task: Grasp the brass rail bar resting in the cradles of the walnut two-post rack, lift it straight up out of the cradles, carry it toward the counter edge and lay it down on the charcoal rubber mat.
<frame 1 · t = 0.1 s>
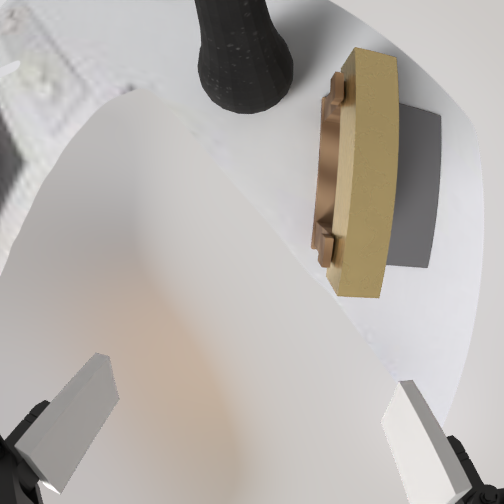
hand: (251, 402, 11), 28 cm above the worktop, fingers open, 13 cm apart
rack: (336, 173, 35), on the worktop
mat: (412, 185, 35), on the worktop
rail: (356, 171, 26), point 9 cm above the worktop, touching rack
bottle: (249, 86, 33), on the worktop
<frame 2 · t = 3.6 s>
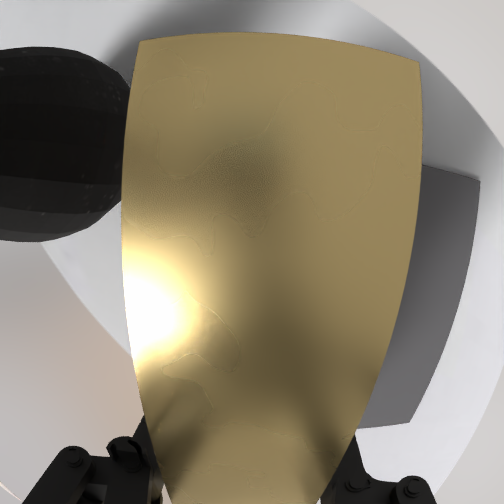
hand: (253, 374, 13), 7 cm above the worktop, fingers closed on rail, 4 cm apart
mat: (408, 321, 19), on the worktop
rail: (251, 405, 11), point 9 cm above the worktop, touching gripper, rack
bottle: (103, 150, 18), on the worktop
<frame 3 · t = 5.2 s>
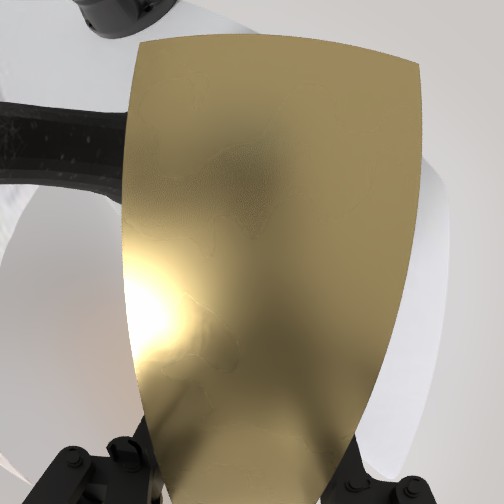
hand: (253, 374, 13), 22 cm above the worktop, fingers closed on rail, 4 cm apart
rail: (251, 406, 11), point 25 cm above the worktop, touching gripper
bottle: (172, 163, 33), on the worktop
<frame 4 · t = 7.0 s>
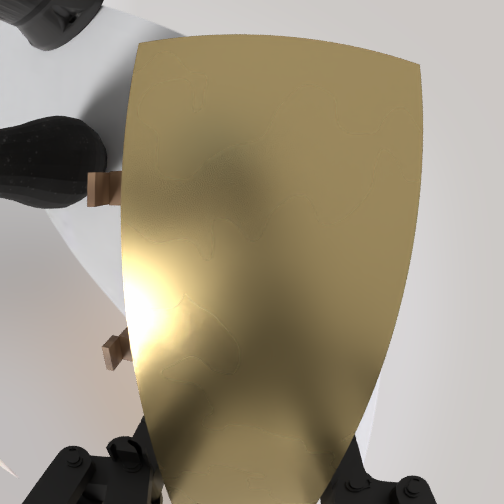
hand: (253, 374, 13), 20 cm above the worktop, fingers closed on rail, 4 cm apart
rack: (165, 253, 33), on the worktop
rail: (250, 406, 11), point 22 cm above the worktop, touching gripper
bottle: (86, 163, 31), on the worktop
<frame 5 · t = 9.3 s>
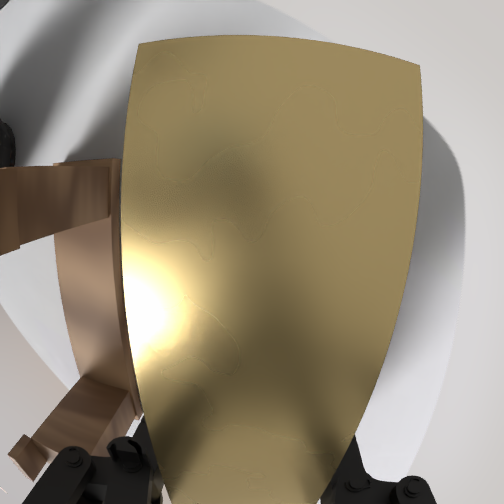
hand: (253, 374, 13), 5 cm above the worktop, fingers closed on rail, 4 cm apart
rack: (95, 306, 18), on the worktop
rail: (250, 407, 11), point 7 cm above the worktop, touching gripper
when the fingers open (1 cm above the worktop, at t = 10.9 s): rail drops 3 cm, resting on mat.
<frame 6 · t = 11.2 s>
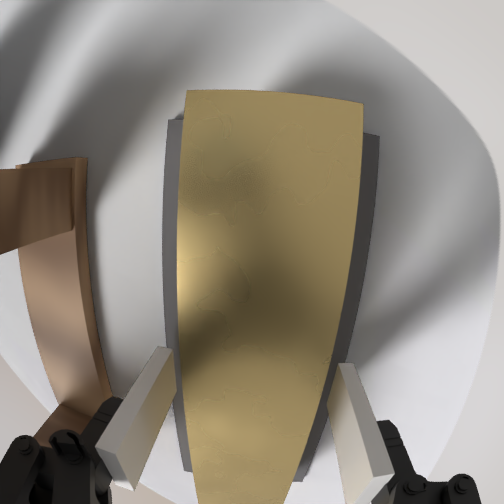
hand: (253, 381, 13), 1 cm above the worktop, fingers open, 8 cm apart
rack: (67, 330, 14), on the worktop
mat: (254, 365, 14), on the worktop
rail: (253, 369, 14), resting on mat
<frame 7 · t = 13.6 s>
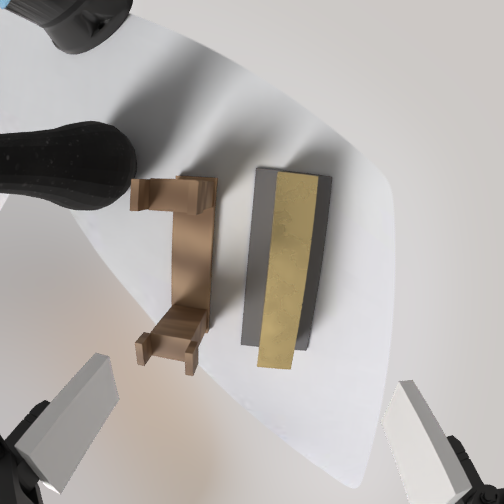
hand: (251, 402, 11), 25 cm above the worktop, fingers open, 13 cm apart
rack: (192, 256, 36), on the worktop
mat: (284, 266, 35), on the worktop
rail: (284, 267, 35), resting on mat
bottle: (115, 167, 34), on the worktop
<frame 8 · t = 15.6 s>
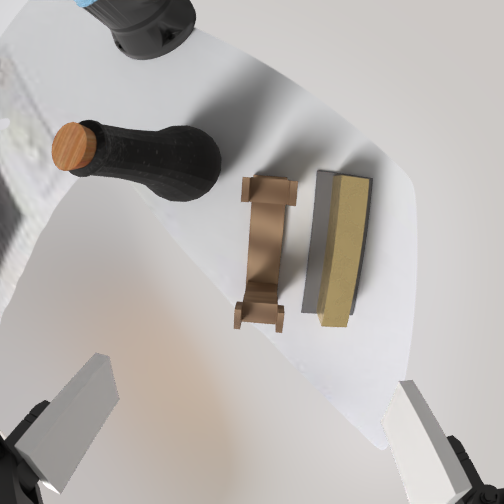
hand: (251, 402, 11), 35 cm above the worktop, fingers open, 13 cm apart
rack: (265, 240, 45), on the worktop
mat: (337, 247, 44), on the worktop
rail: (337, 247, 44), resting on mat
bottle: (193, 165, 43), on the worktop
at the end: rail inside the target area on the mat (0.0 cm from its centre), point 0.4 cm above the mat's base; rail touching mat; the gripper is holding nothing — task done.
